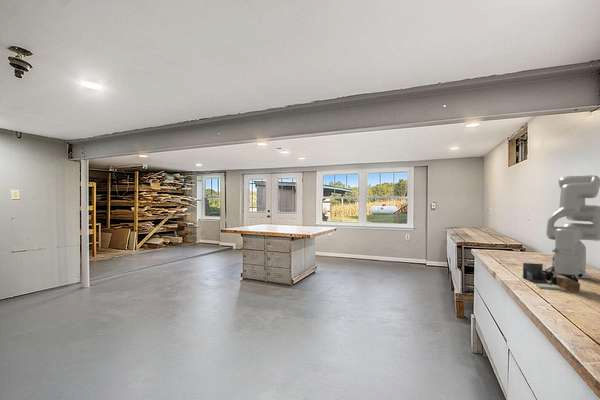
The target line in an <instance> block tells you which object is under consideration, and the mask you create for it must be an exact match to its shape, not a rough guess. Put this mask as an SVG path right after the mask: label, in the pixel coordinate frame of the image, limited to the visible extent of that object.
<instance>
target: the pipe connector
mask: <svg viewBox="0 0 600 400" xmlns="http://www.w3.org/2000/svg"><path fill="white" fill-rule="evenodd" d="M543 272H544V273H546V281H551V276H550V275H549V274H548V273H547V272H546V270H545V269H543ZM550 272H551V273H552V272H553V271H552V269H550ZM560 275H562V276H564V277H567V278H569V279H571V280H572V278H573V277H572V275H565V274H560Z"/></svg>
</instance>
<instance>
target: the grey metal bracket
mask: <svg viewBox="0 0 600 400" xmlns="http://www.w3.org/2000/svg"><path fill="white" fill-rule="evenodd" d="M543 267H544V266H543V263H536V262H535V263H534V262H530V263H529V262H522V279H525V280H527V281H528V282H530V283H544V284H547V279H546V273H544V272H543V270H544V269H543Z"/></svg>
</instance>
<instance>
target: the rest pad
mask: <svg viewBox="0 0 600 400" xmlns="http://www.w3.org/2000/svg"><path fill="white" fill-rule="evenodd" d="M536 287H538V289H545V290H555V291H556V290H557V291H560V287H559V286H557V285H554V284H552V285H551V284H539V283H537V284H536Z"/></svg>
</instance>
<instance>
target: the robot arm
mask: <svg viewBox="0 0 600 400" xmlns="http://www.w3.org/2000/svg"><path fill="white" fill-rule="evenodd" d="M558 186H559V189H560V195H559V197H560V198H559V207H558V209H557V211H555V212H553V213H552V214H551V215H550V217H549V218H548V219H547V222H546V224H547V225H546V233H545V234H546V236H547V238H548V239H549V240H553V241H555V243H554V249H551V252H552V253H553V255H552V260H551V265H549V266H546V267H545V268H544V271H546V272H547V273H548V274H549V275H550V276H551V280H550V283H551V282H552V283H551V284H552V285H554V286H557V278H556V276H557V275H558V274H565V275H572V280H574V281H576V282H578V283H579V280H581V279H590V275H589V274H587V273H586V272H587V247H586V245H585V244H584V243H583V242H582V241H593V242H594V241H595V242H600V205H591V204H588V205H587V204H586V199H595V198H596V197H597V196H598V194H599V191H600V177H599V176H598V175H569V176H563V177H560V178H559V179H558ZM564 217H565V218H566V219H567V220H568V221H573V222H569V223H565V224H562V226H555V223H556V222H557V221H558V220H559V219H561V218H564ZM580 222H589V223H580ZM551 269H552V271H553V272H552V273H551V272H550V271H551Z"/></svg>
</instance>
